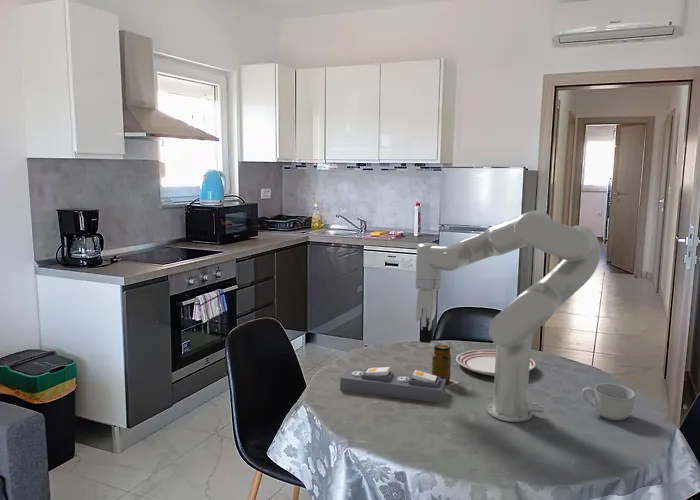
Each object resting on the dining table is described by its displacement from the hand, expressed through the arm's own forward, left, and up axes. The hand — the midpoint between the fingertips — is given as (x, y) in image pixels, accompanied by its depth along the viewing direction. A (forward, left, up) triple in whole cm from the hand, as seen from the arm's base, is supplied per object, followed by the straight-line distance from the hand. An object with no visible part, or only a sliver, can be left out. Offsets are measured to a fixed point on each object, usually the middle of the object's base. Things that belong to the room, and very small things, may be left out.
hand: (425, 341), depth 179 cm
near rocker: (0, 0, -11) cm, 11 cm away
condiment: (-4, -13, -17) cm, 22 cm away
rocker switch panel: (+10, 0, -17) cm, 20 cm away
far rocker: (+15, 0, -11) cm, 19 cm away
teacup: (-53, -2, -17) cm, 56 cm away
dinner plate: (-20, -33, -18) cm, 42 cm away
